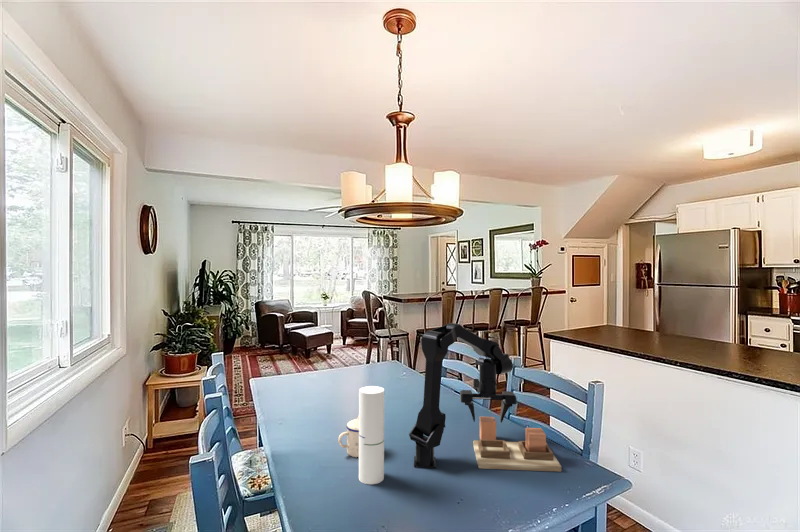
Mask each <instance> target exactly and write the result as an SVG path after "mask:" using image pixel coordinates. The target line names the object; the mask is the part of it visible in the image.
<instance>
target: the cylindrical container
mask: <svg viewBox="0 0 800 532" xmlns="http://www.w3.org/2000/svg"><path fill="white" fill-rule="evenodd" d="M358 416H359V458H358V480H359V481H360V482H361V483H362V484H365V485H377V484H380V483H382V482H383V481H384V478H385V388H384V387H381V386H377V385H367V386H363V387H360V388H359V389H358Z"/></svg>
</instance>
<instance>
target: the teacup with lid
mask: <svg viewBox="0 0 800 532" xmlns="http://www.w3.org/2000/svg"><path fill="white" fill-rule="evenodd" d="M346 430H347V431H343V432H341V433H340V434H339V436H338V438H337V439H338V440H337V441H338V444H339V446H340V447H341V448H343V449H346V453H347V455H348V456H350V457H353V458H357V457H358V458H357V459H359V415H358V416H357V418H355V419H352V420H351V419H350V420H349V421H347V424H346ZM344 436H346V439H347V440H346V444H343V443H342V439H343V437H344Z"/></svg>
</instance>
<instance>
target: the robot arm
mask: <svg viewBox="0 0 800 532" xmlns="http://www.w3.org/2000/svg"><path fill="white" fill-rule="evenodd" d="M457 340H458V341H460V342H461V343H464V344H465V345H468V346H469V347H471V348H473V349H472V350H473V351H474V352H475V353H476V354H477V355H478V356H482V357H479V358H478V359H477V360H476V361H475V363H474V364H475V365H477V366H479V377H478V378H473V380H472V384H473V385H472V387H473V389H477V391H478V393H473V391H472V390H469V389H461V390H460V391H459V399H460V402H461V403H462V404H464V405H465V406H467V407H468V409H469V411H470V414H471V417H472V420H473V423H475V422H476V416H475V415H476V414H475V406H474V401H473V400H484V401H485V400H486V401H487V400H488V401H500V404H501V406H500V413H499V414H500V416H499V420H500V421H499V422H500V423H501V424H502V422H503V421H504V418H505V416H506V415H507V412H508V411H509V409H510V408H511V407H513V405H517V403H518V402H517V401H518V399H517V396H516V394H515V393H514V391H511V390H510V391H507V390H506V391H504V390H503V391H502V393H501V394H500V393H497V375H503V374H508V373H510V372H512V371H513V368H514V363H513V361H512V359H511V358H510V357H509V354H508V353H505V352H504V353H503V351H502V349H501V348H500V344H499V343H498V342H497V341H495V340H491V339H486V338H482V337H481V336H479V335H477V334H475V333H474V332H472V331H471V330H469V329H466V328H465V327H463V326H462V325H461V324H459V323H454V322H449V323H446V324H445V325H442V326H439V327H436V328H433V329H431V330H430V329H429V330H426V331H425V332H424V334H422V335H421V351H422V353H423V355H424V358H425V369H424V370H425V371H424V373H425V374H424V386H423V387H424V388H423V400H422V401H423V403H422V407H421V409H420V411H419V412H418V413H417V418H416V423H415V424H414V426H413V427H412V429H411V430H410V431H409V432H408V433H409V434H408V436H409V438H410V441H414V442H415V455H414V458H413V459H414V460H413V467H414V468H430V469H431V468H432V469H435V468H436V467H437V465H436V456H435V448H437V447H440V445H441V441H442V438H443V434H444V430H445V428H446V413H444V412H442V411H441V409H440V401H441V400H440V399H441V382H442V368H443V360H444V359H445V357H446V355H447V354H448V350H449V347H450V346H451V345H453V344H454V343H455V342H456V341H457ZM483 357H484V358H483Z"/></svg>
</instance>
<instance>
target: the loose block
mask: <svg viewBox="0 0 800 532" xmlns="http://www.w3.org/2000/svg"><path fill="white" fill-rule="evenodd" d="M479 439H483V440H497V421H496V418H495V417H494V416H479Z"/></svg>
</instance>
